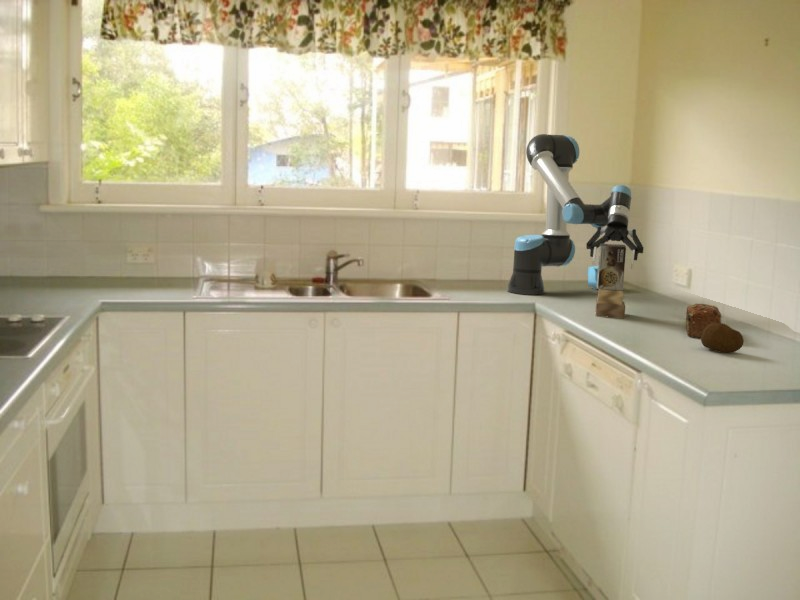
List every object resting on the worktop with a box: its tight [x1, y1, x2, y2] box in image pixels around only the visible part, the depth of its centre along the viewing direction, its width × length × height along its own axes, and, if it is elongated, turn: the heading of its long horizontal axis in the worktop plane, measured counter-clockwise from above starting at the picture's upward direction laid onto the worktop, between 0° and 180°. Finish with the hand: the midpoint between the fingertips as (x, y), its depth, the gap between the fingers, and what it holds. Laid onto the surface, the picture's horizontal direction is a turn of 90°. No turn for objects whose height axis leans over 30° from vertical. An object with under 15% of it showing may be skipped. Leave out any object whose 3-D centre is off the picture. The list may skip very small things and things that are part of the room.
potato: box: [700, 322, 745, 354], centre depth 270 cm, size 8×12×9 cm
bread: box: [685, 303, 722, 339], centre depth 297 cm, size 19×11×10 cm, turn 163°
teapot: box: [587, 265, 598, 290], centre depth 385 cm, size 16×18×11 cm
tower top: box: [597, 289, 624, 305], centre depth 324 cm, size 8×8×5 cm
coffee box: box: [597, 243, 627, 291], centre depth 322 cm, size 9×6×16 cm
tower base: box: [594, 298, 626, 319], centre depth 324 cm, size 10×10×5 cm
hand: (612, 264), depth 319 cm, fingers open, 13 cm apart
